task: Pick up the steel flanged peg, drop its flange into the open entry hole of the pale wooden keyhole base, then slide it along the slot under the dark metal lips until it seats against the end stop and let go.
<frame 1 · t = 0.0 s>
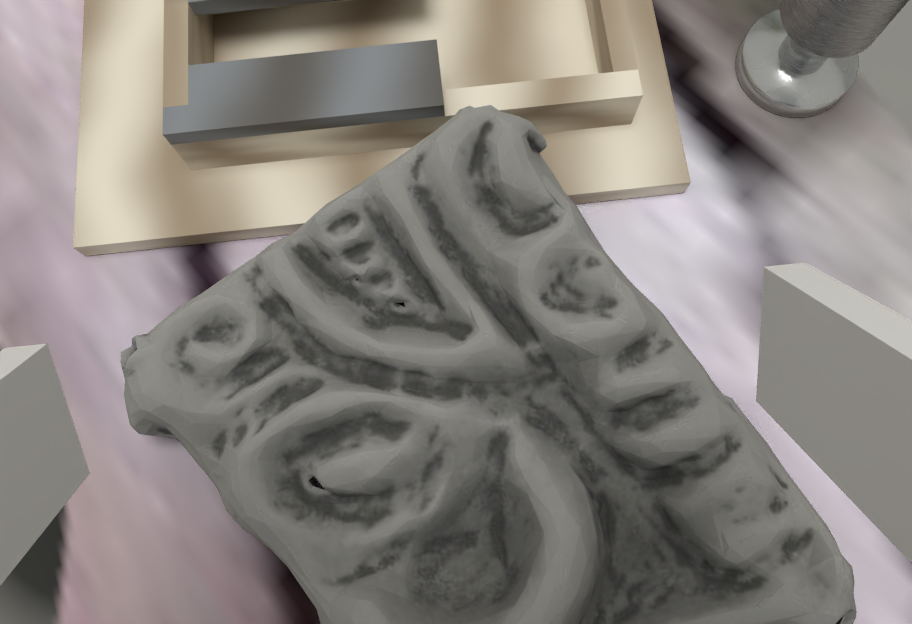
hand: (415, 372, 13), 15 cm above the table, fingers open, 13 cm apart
peg: (791, 69, 32), on the table
wall plaque: (470, 472, 27), point 1 cm above the table
keyhole base: (373, 74, 32), on the table
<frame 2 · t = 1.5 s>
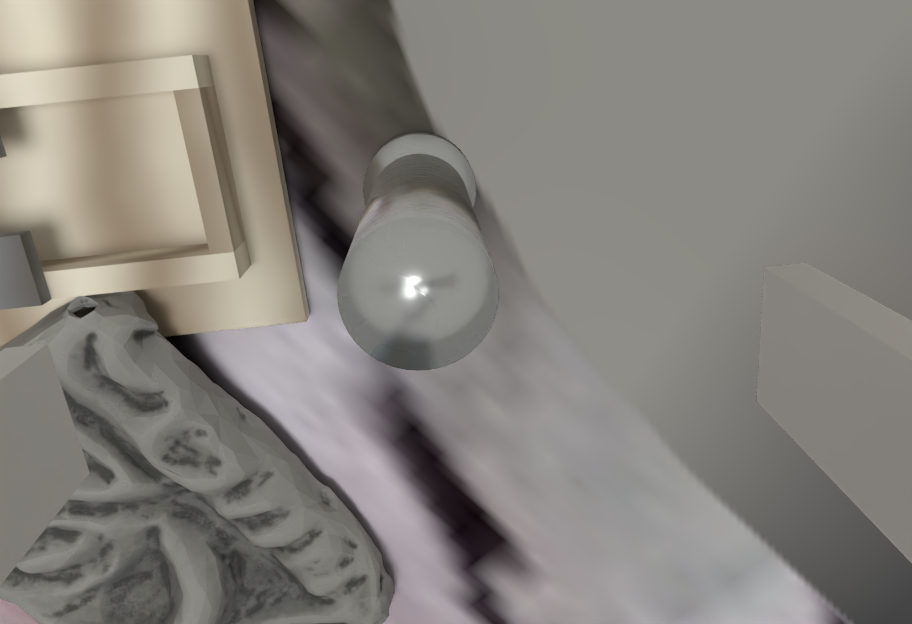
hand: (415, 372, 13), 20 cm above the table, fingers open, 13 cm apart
peg: (420, 188, 32), on the table
wall plaque: (145, 529, 37), on the table, touching keyhole base
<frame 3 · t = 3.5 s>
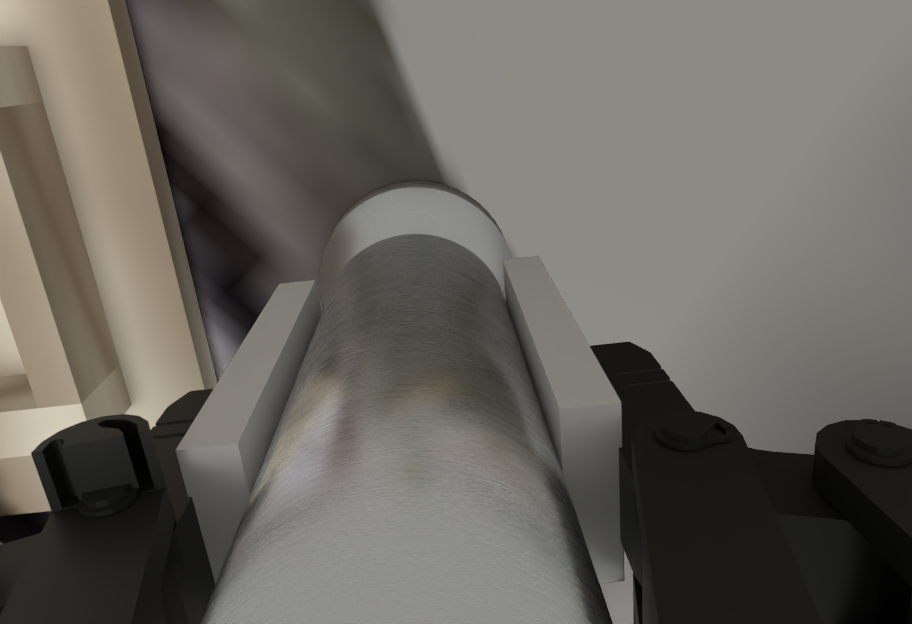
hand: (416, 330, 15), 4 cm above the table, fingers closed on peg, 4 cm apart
peg: (418, 274, 19), on the table, touching gripper
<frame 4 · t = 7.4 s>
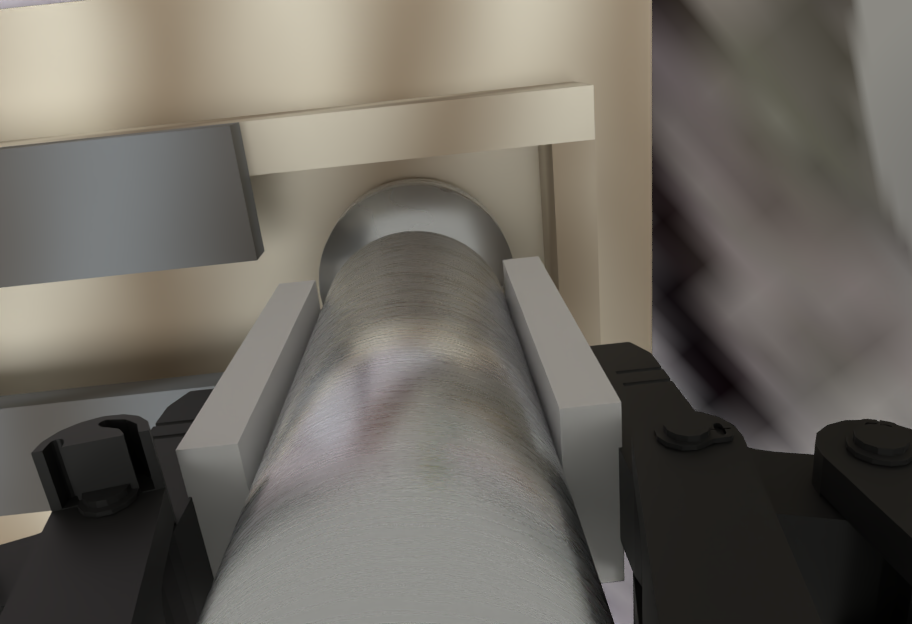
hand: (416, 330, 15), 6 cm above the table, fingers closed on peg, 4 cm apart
peg: (417, 271, 19), point 2 cm above the table, touching gripper
keyhole base: (194, 283, 20), on the table
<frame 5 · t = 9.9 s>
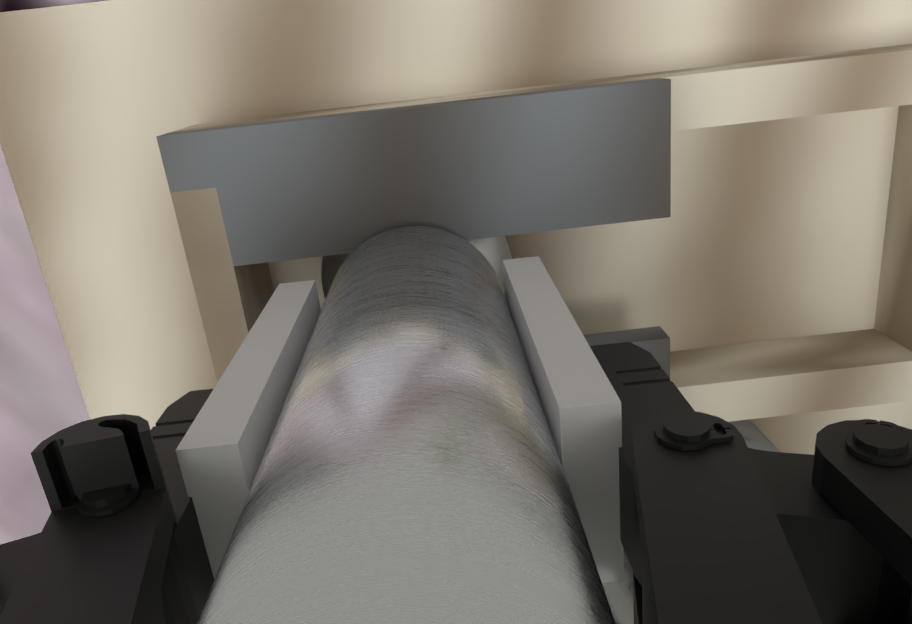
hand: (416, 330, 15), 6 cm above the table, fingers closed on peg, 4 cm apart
peg: (418, 267, 19), point 1 cm above the table, touching gripper
keyhole base: (521, 249, 20), on the table
when the fingers open (6 cm above the table, at t = 11.3 s): peg stays where it is, resting on keyhole base.
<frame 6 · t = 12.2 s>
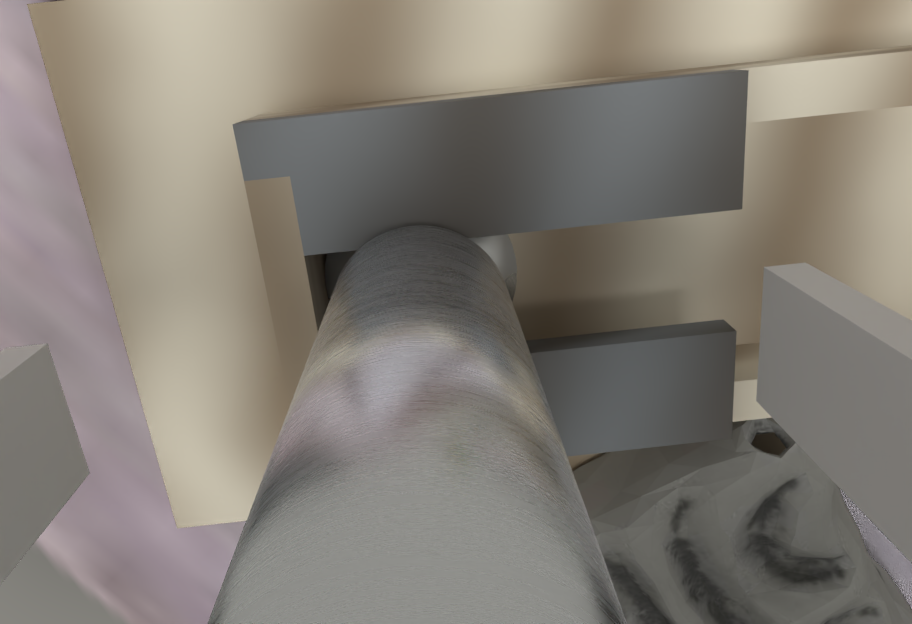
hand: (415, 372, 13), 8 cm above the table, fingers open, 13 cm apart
peg: (421, 266, 19), point 1 cm above the table, touching keyhole base
keyhole base: (577, 242, 20), on the table
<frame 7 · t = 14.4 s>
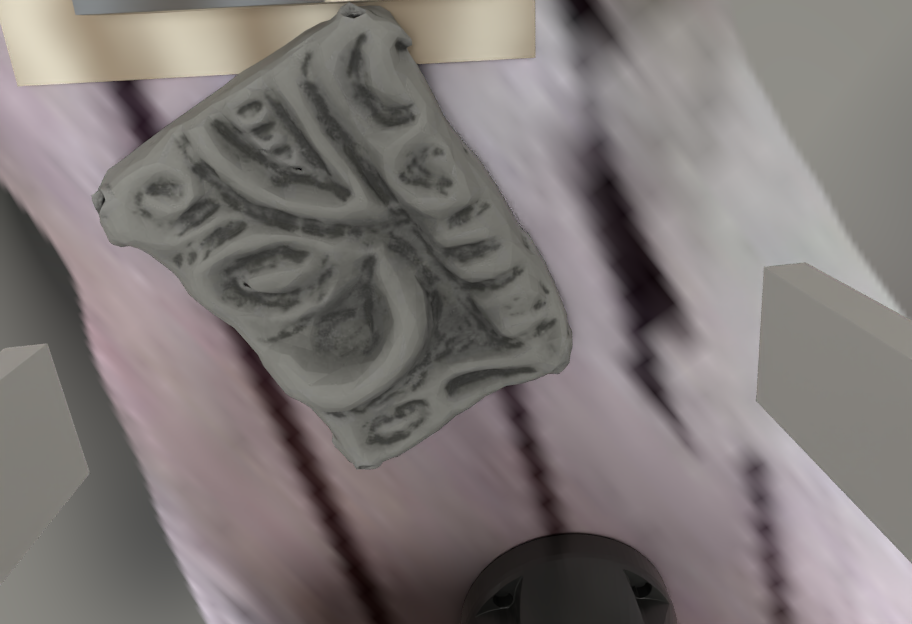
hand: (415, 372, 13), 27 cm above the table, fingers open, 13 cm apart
wall plaque: (351, 269, 40), on the table, touching keyhole base
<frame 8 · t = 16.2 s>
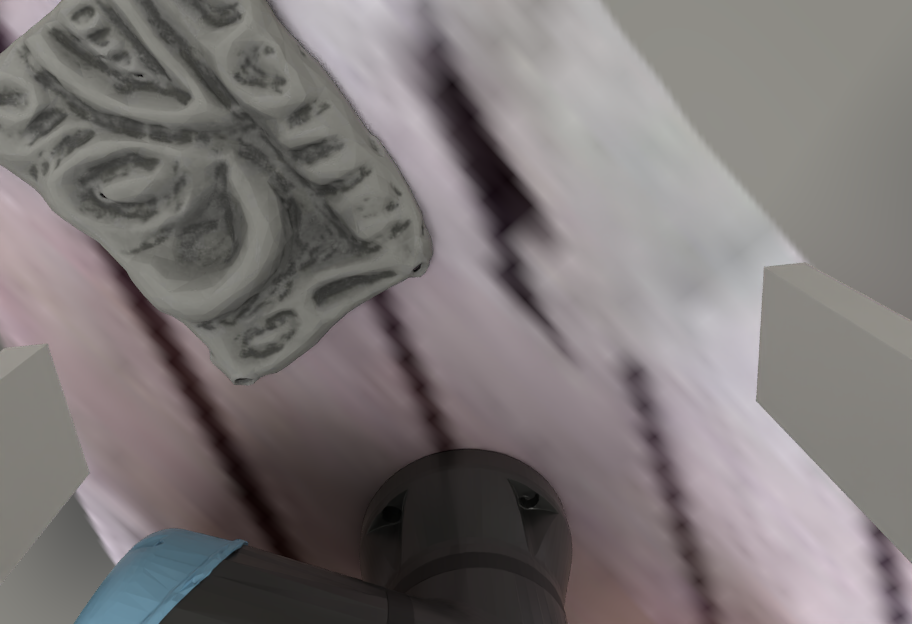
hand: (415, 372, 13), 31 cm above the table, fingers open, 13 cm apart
wall plaque: (211, 182, 42), on the table, touching keyhole base
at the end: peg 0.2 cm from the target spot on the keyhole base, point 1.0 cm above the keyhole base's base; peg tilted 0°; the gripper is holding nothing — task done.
